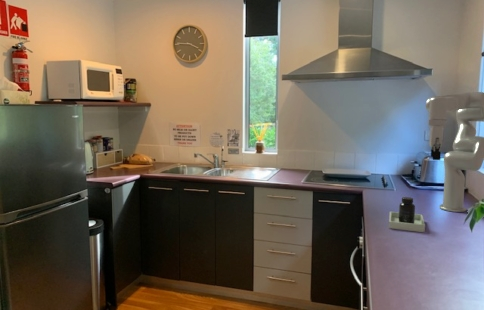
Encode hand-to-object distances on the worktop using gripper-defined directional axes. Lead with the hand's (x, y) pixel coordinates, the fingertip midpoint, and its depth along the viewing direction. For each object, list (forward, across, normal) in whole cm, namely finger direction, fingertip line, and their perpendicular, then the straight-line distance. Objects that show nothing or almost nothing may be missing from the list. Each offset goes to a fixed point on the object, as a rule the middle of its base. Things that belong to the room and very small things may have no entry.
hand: (435, 158), depth 176 cm
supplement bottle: (+30, +15, -12) cm, 35 cm away
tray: (+30, +15, -12) cm, 36 cm away
